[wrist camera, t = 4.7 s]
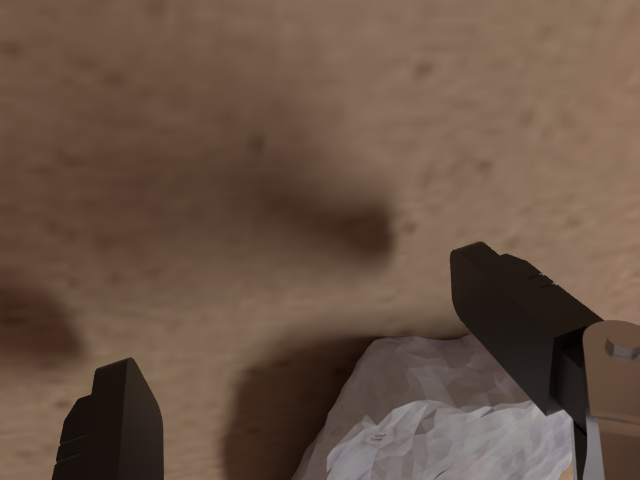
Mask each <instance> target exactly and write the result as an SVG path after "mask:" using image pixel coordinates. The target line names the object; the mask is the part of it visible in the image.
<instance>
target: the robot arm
mask: <svg viewBox="0 0 640 480" xmlns="http://www.w3.org/2000/svg"><path fill="white" fill-rule="evenodd" d="M450 268H451V289H452V301H453V305H454V308H455V311H456V313H457V315H458V317H459V318H460V320H461V321H462V322H463V323H464V324H465V326H466V327H467V328H468V329H469V330H470V331H471V332H472V334H473V335H474V336H475V337H476V338H477V339H478V340H479V341H480V343H481V344H482V345H483V346H484V347H485V348H486V349H487V350H488V352H489V353H490V354H491V355H492V356H493V357H494V358H495V359H496V361H497V362H498V363H499V364H500V365H501V366H502V367H503V369H504V370H505V371H506V372H507V373H508V374H509V375H510V376H511V378H512V379H513V380H514V381H515V382H516V383H517V384H518V385H519V387H520V388H521V389H522V390H523V391H524V392H525V393H526V394H527V396H528V397H529V398H530V399H531V400H532V401H533V402H534V404H535V405H536V406H537V407H538V408H539V409H540V410H541V411H542V413H543V414H544V415H545V416H546V417H547V416H549V415H551V414H554V413H556V412H559V411H561V410H565V411H566V413H567V414H568V415H569V416H570V417H571V425H570V429H571V444H572V460H573V475H574V480H640V326H639V325H636V324H633V323H629V322H625V321H618V320H607V321H604V320H603V319H602V318H600V317H599V316H598V315H596V314H595V313H594V312H592V311H591V310H590V309H589V308H587V307H586V306H585V305H583V304H582V303H581V302H579V301H578V300H577V299H575V298H574V297H573V296H572V295H570V294H569V293H568V292H566V291H565V290H564V289H562V288H561V287H560V286H558V285H555V282H553V281H552V280H551V279H549V278H548V277H547V276H545V275H544V276H543V275H542V272H540V271H539V270H538V269H536V268H535V267H534V266H532V265H531V264H530V263H528V262H527V261H525V260H522V259H520V258H517V257H514V256H512V255H509V254H503V255H499V254H497V253H496V252H495V251H494V250H492V249H491V248H490V247H489V246H487V245H486V244H485V243H483V242H476V243H473V244H470V245H467V246H464V247H461V248H458V249H455V250H453V251H452V252H451V254H450ZM56 462H57V464H56V465H55V467H54V471H53V476H52V480H164V456H163V422H162V416H161V412H160V409H159V406H158V403H157V401H156V399H155V397H154V395H153V393H152V392H151V390H150V388H149V386H148V384H147V382H146V380H145V379H144V377H143V375H142V373H141V371H140V369H139V367H138V365H137V364H136V362H135V361H134V359H133V358H131V357H130V358H127V359H124V360H121V361H118V362H115V363H112V364H109V365H106V366H103V367H100V368H97V369H96V371H95V374H94V381H93V387H92V393H91V395H88V396H85V397H82V398H80V399H78V400H77V401H76V403H75V404H74V406H73V408H72V409H71V411H70V412H69V414H68V416H67V417H66V419H65V420H64V424H63V429H62V434H61V438H60V446H59V448H58V453H57V457H56Z"/></svg>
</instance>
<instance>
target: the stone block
mask: <svg viewBox="0 0 640 480" xmlns="http://www.w3.org/2000/svg"><path fill="white" fill-rule="evenodd" d="M570 425H571V417H570V416H569V415H568V414H567V413H566V411H565V410H561V411H559V412H556V413H554V414H551V415H549V416H547V417H546V416H545V415H544V414H543V413H542V411H541V410H540V409H539V408H538V407H537V406H536V405H535V404H534V402H533V401H532V400H531V399H530V398H529V397H528V396H527V394H526V393H525V392H524V391H523V390H522V389H521V388H520V387H519V385H518V384H517V383H516V382H515V381H514V380H513V379H512V378H511V376H510V375H509V374H508V373H507V372H506V371H505V370H504V369H503V367H502V366H501V365H500V364H499V363H498V362H497V361H496V359H495V358H494V357H493V356H492V355H491V354H490V353H489V352H488V350H487V349H486V348H485V347H484V346H483V345H482V344H481V343H480V341H479V340H478V339H477V338H476V337H475V336H474V335H473V334H470V335H466V336H463V337H462V338H460V339H454V340H445V341H444V340H436V339H426V338H423V337H418V336H408V337H385V338H381V339H377V340H374V341H373V342H372V343H371V344H370V345H369V347H368V348H367V349H366V351H365V353H364V354H363V355H362V357H361V358H360V359H359V360H358V362H357V363H356V366H355V369H354V371H353V373H352V375H351V376H350V378H349V379H348V380H347V382H346V383H345V385H344V386H343V387H342V389H341V392H340V395H339V396H338V398H337V401H336V403H335V404H334V405H333V407H332V409H331V410H330V411H329V413H328V417H327V419H326V424H325V425H324V427H323V428H322V429H321V430H320V432H319V433H318V435H317V437H316V439H315V440H314V441H313V442H312V443H311V444H310V445H309V446H308V447H307V448H306V451H305V453H304V455H303V457H302V460H301V463H300V465H299V467H298V469H297V470H296V472H295V473H294V475H293V476H292V478H291V480H558V478H559V476H560V474H561V472H562V471H564V470H565V469H567V468H568V467H569V465H570V463H571V461H572V444H571V429H570Z"/></svg>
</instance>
